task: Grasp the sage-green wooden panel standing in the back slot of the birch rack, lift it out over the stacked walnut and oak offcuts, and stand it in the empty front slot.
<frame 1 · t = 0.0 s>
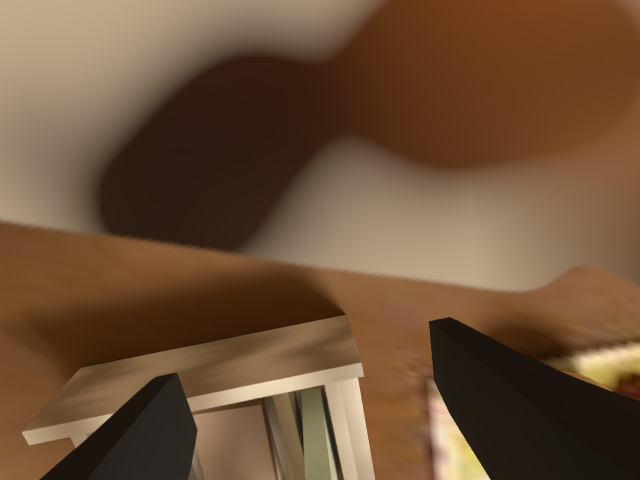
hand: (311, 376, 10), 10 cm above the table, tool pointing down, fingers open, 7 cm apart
offcut upper: (242, 463, 21), point 2 cm above the table, touching offcut lower
rack: (245, 441, 23), on the table
panel: (320, 433, 22), point 1 cm above the table, touching rack
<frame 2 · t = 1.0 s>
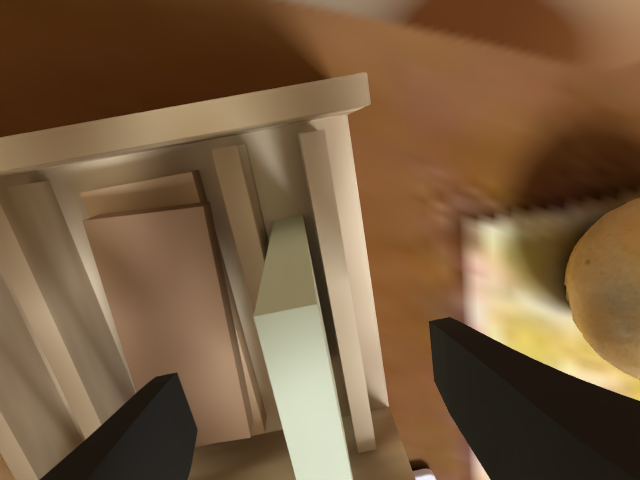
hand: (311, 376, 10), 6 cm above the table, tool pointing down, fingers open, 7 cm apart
offcut lower: (191, 316, 15), point 1 cm above the table, touching offcut upper, rack
offcut upper: (184, 328, 14), point 2 cm above the table, touching offcut lower
rack: (194, 309, 15), on the table
onion: (608, 263, 17), on the table
panel: (304, 293, 15), point 1 cm above the table, touching rack
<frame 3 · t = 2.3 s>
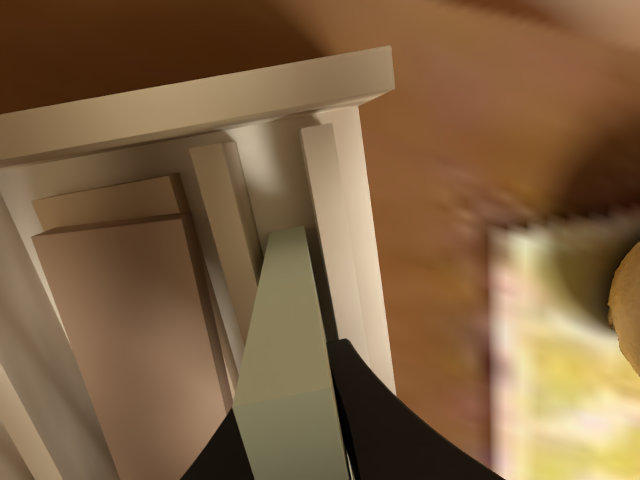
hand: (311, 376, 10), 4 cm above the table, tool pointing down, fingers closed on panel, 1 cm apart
offcut lower: (173, 343, 13), point 1 cm above the table, touching offcut upper, rack
offcut upper: (163, 360, 12), point 2 cm above the table, touching offcut lower
rack: (178, 335, 13), on the table
panel: (305, 317, 13), point 1 cm above the table, touching gripper, rack
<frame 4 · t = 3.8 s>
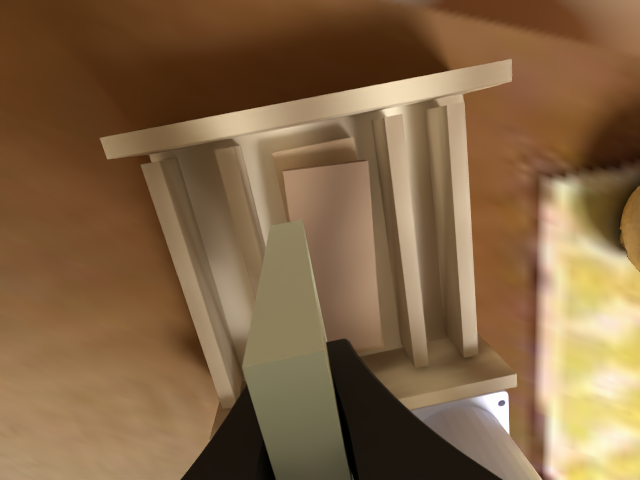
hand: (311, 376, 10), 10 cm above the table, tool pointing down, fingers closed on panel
offcut lower: (331, 253, 19), point 1 cm above the table, touching offcut upper, rack
offcut upper: (334, 259, 18), point 2 cm above the table, touching offcut lower
rack: (330, 250, 20), on the table
panel: (304, 306, 14), point 6 cm above the table, touching gripper
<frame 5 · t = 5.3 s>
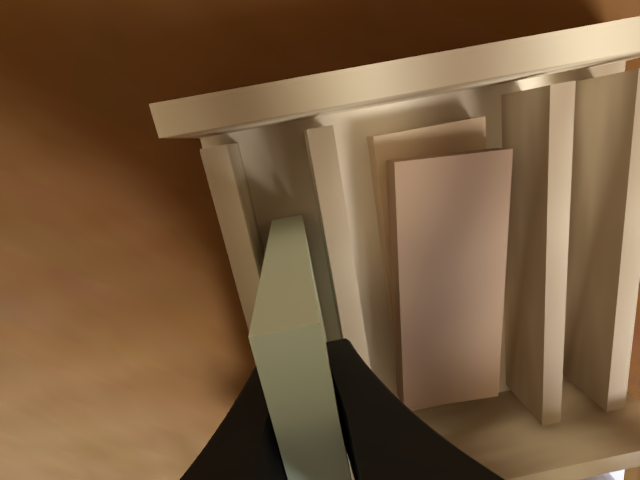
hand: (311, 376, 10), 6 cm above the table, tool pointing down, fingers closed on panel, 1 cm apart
offcut lower: (431, 273, 15), point 1 cm above the table, touching offcut upper, rack
offcut upper: (441, 282, 14), point 2 cm above the table, touching offcut lower
rack: (426, 268, 15), on the table
panel: (303, 297, 14), point 1 cm above the table, touching gripper, rack
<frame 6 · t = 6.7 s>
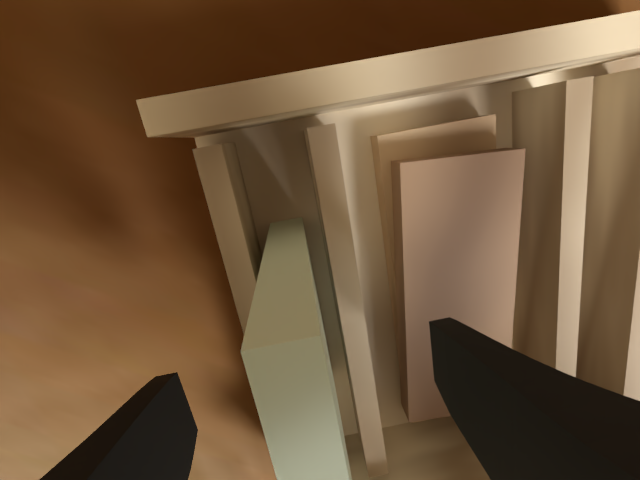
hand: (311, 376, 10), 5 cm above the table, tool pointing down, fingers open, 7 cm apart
offcut lower: (437, 278, 14), point 1 cm above the table, touching offcut upper, rack
offcut upper: (448, 289, 13), point 2 cm above the table, touching offcut lower
rack: (431, 273, 14), on the table
panel: (303, 303, 14), point 1 cm above the table, touching rack
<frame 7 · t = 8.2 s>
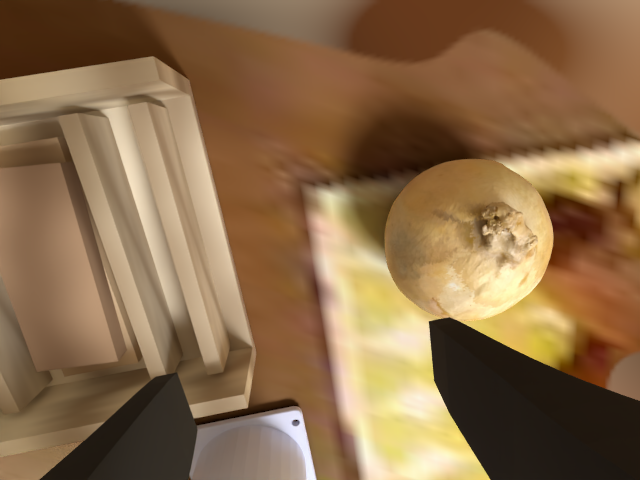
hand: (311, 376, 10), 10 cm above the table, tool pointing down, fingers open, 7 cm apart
offcut lower: (73, 261, 18), point 1 cm above the table, touching offcut upper, rack
offcut upper: (61, 268, 17), point 2 cm above the table, touching offcut lower
rack: (80, 257, 19), on the table
onion: (436, 227, 20), on the table
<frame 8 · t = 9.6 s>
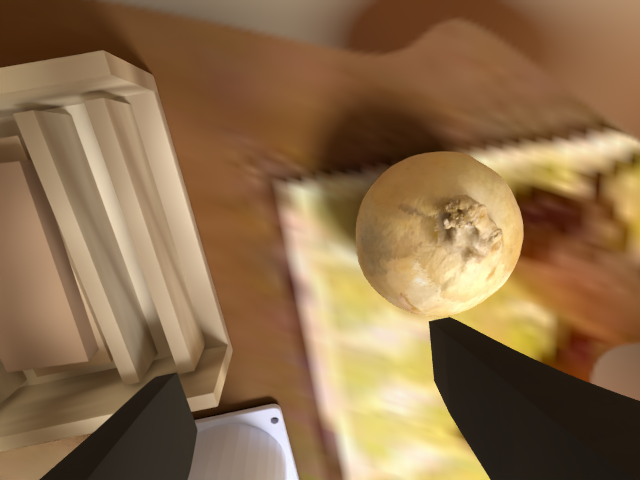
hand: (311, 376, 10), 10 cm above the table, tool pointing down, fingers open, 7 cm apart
offcut lower: (42, 261, 18), point 1 cm above the table, touching offcut upper, rack
offcut upper: (28, 268, 17), point 2 cm above the table, touching offcut lower
rack: (50, 257, 18), on the table
onion: (412, 221, 20), on the table
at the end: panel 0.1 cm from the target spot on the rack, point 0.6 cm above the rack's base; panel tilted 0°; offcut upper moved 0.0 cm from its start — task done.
